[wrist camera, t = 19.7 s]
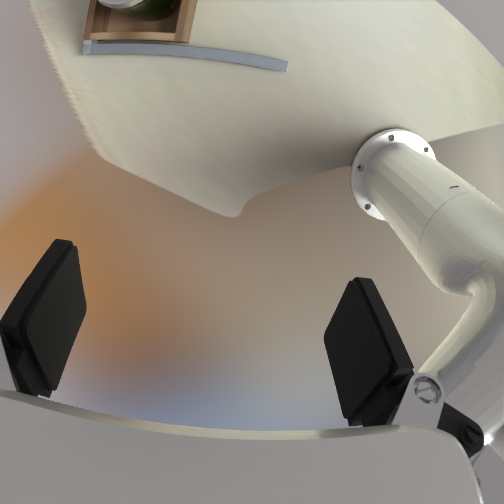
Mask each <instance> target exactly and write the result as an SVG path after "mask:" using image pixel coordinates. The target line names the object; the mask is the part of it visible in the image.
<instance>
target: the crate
mask: <svg viewBox="0 0 504 504" xmlns="http://www.w3.org/2000/svg"><path fill="white" fill-rule="evenodd" d="M196 3H197V0H180V3H179V5H178V7H177V8H176V10H175V11H174V12H173V13H172V14H170V15H169V16H168V17H165V18H163V19H161V20H156V21H148V20H143V19H141V18H138V17H135V16H133V15H130V14H127V13H124V12H121V11H118V10H115V9H112V8H110V7H107V6H104V5H103V4H101V3H100V2H99V1H98V0H90V5H89V10H88V16H87V22H86V28H85V34H84V40H99V41H108V40H142V41H166V42H181V43H189V38H190V33H191V27H192V22H193V18H194V13H195V8H196Z"/></svg>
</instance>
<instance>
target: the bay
mask: <svg viewBox="0 0 504 504" xmlns="http://www.w3.org/2000/svg"><path fill="white" fill-rule="evenodd" d="M98 42H99V40H84V42H83V50H82V55H84V54H151V55H168V56H182V57H192V58H202V59H210V60H218V61H226V62H233V63H239V64H245V65H251V66H257V67H262V68H267V69H272V70H277V71H282V72H286V67H287V63H288V62H287V61H283V60H278V59H273V58H268V57H263V56H257V55H252V54H246V53H240V52H233V51H226V50H219V49H211V48H202V47H192V46H181V45H166V44H144V43H103V44H98Z"/></svg>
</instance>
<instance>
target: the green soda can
mask: <svg viewBox="0 0 504 504" xmlns="http://www.w3.org/2000/svg"><path fill="white" fill-rule="evenodd" d="M98 1H99V2H100V3H101V4H103V5H104V6H107V7H110V8H112V9H115V10H118V11H121V12H124V13H127V14H130V15H133V16H135V17H138V18H141V19H143V20H148V21H156V20H161V19H163V18H165V17H168V16H169V15H170V14H172V13H173V12H174V11H175V10H176V8H177V7H178V5H179V3H180V0H98Z"/></svg>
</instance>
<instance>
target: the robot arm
mask: <svg viewBox="0 0 504 504" xmlns="http://www.w3.org/2000/svg"><path fill="white" fill-rule="evenodd" d="M389 135H390V137H388V136H389ZM359 165H360V166H359ZM358 166H359V167H358ZM350 185H351V190H352V194H353V196H354V198H355V200H356V202H357V203H358V205H359V206H360V207H361V209H362V210H363V211H364V212H366V213H367V214H368V215H370V216H371V217H374V218H376V219H379V220H384V221H387V222H388V223H389V225H390V226H391V227H392V229H393V230H394V231H395V233H396V234H397V235H398V236H399V238H400V239H401V241H402V242H403V243H404V245H405V246H406V247H407V249H408V250H409V251H410V253H411V254H412V256H413V257H414V258H415V260H416V261H417V262H418V264H419V265H420V267H421V268H422V269H423V271H424V272H425V273H426V275H427V276H428V278H429V279H430V280H431V281H432V283H433V284H434V285H436V286H437V287H438V288H439V289H441V290H443V291H444V292H446V293H449V294H453V295H458V296H473V299H472V301H471V303H470V305H469V307H468V308H467V310H466V311H465V313H464V314H463V315H462V317H461V319H460V321H459V322H458V324H457V325H456V326H455V327H454V329H453V330H452V331H451V332H450V333H449V335H448V336H447V337H446V338H445V340H444V341H443V342H442V343H441V344H440V345H439V347H438V348H437V349H436V350H435V351H434V353H433V354H432V355H431V356H430V358H428V360H427V361H426V362H425V363H424V365H423V366H422V367H421V369H420V370H419V372H418V373H416V374H414V372H413V370H412V369H413V368H414V366H413V364H412V362H411V360H410V357H409V355H408V353H407V351H406V348H405V346H404V344H403V342H402V340H401V337H400V335H399V333H398V331H397V329H396V327H395V325H394V323H393V321H392V319H391V316H390V315H389V313H388V310H387V309H386V306H385V304H384V302H383V300H382V298H381V296H380V294H379V292H378V290H377V288H376V286H375V284H374V282H373V281H372V279H370V278H361V277H356V278H354V279H353V281H349V283H348V284H347V287H346V289H345V291H344V293H343V295H342V298H341V300H340V302H339V304H338V306H337V308H336V310H335V312H334V314H333V317H332V319H331V321H330V323H329V325H328V327H327V329H326V331H325V334H324V343H325V347H326V351H327V354H328V358H329V362H330V366H331V370H332V374H333V377H334V382H335V386H336V389H337V393H338V398H339V402H340V405H341V410H342V414H343V416H344V418H346V419H347V420H348V424H349V426H359V425H363V427H360V428H345V429H329V430H308V431H250V430H228V429H212V428H201V427H190V426H181V425H172V424H165V423H157V422H150V421H144V420H137V419H131V418H126V417H120V416H115V415H110V414H105V413H100V412H96V411H91V410H87V409H82V408H78V407H74V406H70V405H66V404H61V403H58V402H54V401H50V400H46V399H43V398H39V397H37V396H38V395H41V396H45V397H48V398H50V395H51V393H52V390H54V391H55V390H56V389H57V387H58V384H59V381H60V379H61V376H62V373H63V370H64V367H65V365H66V362H67V359H68V357H69V354H70V351H71V348H72V346H73V343H74V341H75V338H76V336H77V333H78V331H79V328H80V326H81V324H82V321H83V319H84V316H85V314H86V300H85V295H84V289H83V284H82V277H81V271H80V264H79V258H78V250H77V247H76V246H73V243H72V241H68V240H61V239H56V240H54V242H53V243H52V244H51V246H50V247H49V249H48V250H47V251H46V252H45V254H44V255H43V257H42V258H41V259H40V261H39V262H38V264H37V265H36V266H35V268H34V269H33V271H32V272H31V274H30V275H29V277H28V278H27V279H26V280H25V282H24V283H23V285H22V286H21V288H20V290H19V291H18V293H17V294H16V296H15V297H14V299H13V301H12V302H11V304H10V305H9V307H8V309H7V310H6V312H5V314H4V315H3V317H2V319H1V320H0V504H504V211H503V210H502V209H501V208H499V207H498V206H497V205H496V204H495V203H493V202H492V201H491V200H489V199H488V198H487V197H486V196H484V195H483V194H482V193H481V192H479V191H478V190H477V189H475V188H474V187H473V186H471V185H470V184H469V183H467V182H466V181H465V180H463V179H462V178H461V177H459V176H458V175H457V174H455V173H454V172H452V171H451V170H449V169H448V168H447V167H445V166H444V165H442V164H441V163H439V162H438V161H436V159H435V155H434V153H433V151H432V149H431V147H430V146H429V144H428V143H427V142H426V141H425V140H424V139H423V138H422V137H421V136H419V135H417V134H416V133H414V132H411V131H409V130H406V129H398V128H397V129H388V130H385V131H382V132H380V133H378V134H376V135H374V136H372V137H371V138H370V139H369V140H368V141H366V142H365V144H364V145H363V146H362V147H361V148H360V149H359V151H358V153H357V155H356V156H355V158H354V161H353V164H352V167H351V173H350Z"/></svg>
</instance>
